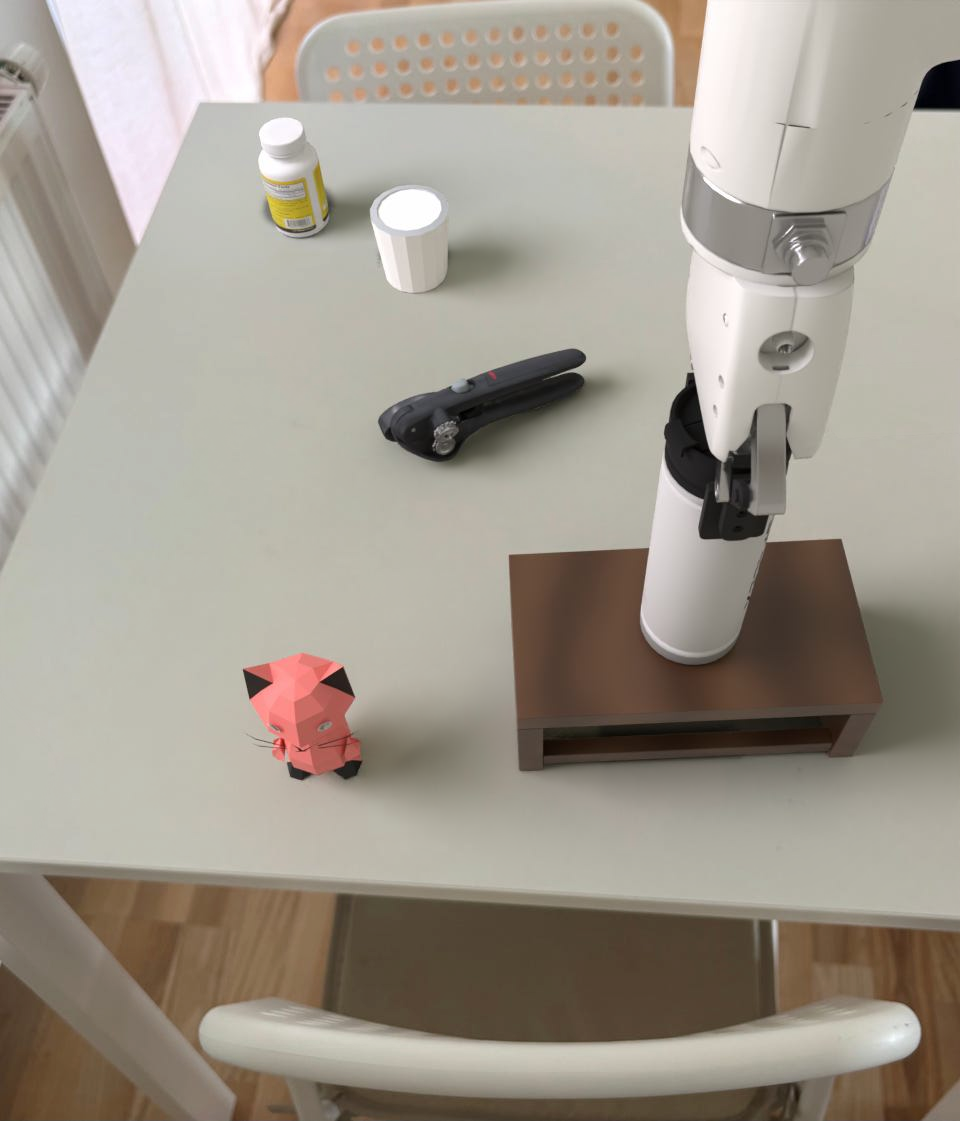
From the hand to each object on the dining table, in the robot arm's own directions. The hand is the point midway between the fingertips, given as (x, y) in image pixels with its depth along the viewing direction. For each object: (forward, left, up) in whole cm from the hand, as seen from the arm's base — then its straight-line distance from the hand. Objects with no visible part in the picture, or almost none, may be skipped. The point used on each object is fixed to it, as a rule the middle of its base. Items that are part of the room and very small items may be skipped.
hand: (719, 476), depth 57 cm
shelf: (0, 0, -23) cm, 23 cm away
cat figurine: (+24, +4, -23) cm, 34 cm away
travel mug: (0, 0, -15) cm, 15 cm away
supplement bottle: (+29, -51, -23) cm, 63 cm away
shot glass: (+18, -43, -23) cm, 52 cm away
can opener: (+12, -25, -23) cm, 36 cm away
